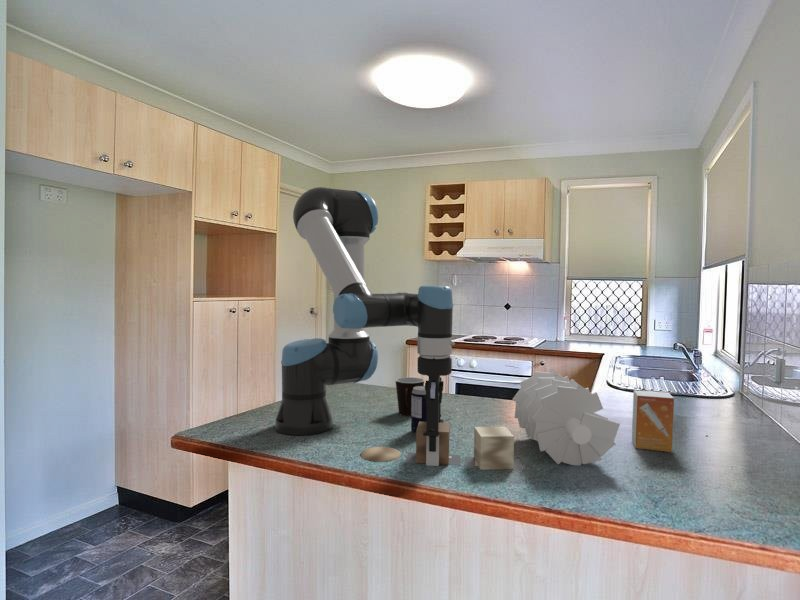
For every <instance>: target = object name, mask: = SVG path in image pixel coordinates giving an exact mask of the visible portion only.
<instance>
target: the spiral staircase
mask: <svg viewBox="0 0 800 600" xmlns="http://www.w3.org/2000/svg"><path fill="white" fill-rule="evenodd" d="M519 385H520V388H519V389H518V391H517V392H516V394H515V395H514V396H513V397H512V401H514V402H515V410H514V416H513V417H514V419H517V421H518V427H519V428H521V429H524V431H525V433H526V437H527V438H528V439H529V438H530V439H531V440H534V441H536V442H537V443H538V448H539V451H540V452H544V451H545V453H546V454H547V455H549V457H550V458H552V460H553V461H554V462H555V463H556V464H557V465H559V464H561V463H564V464H567V465H569V466H570V465H571V466H582V465H587V464H591V463H595V462H599V461H602V457H603V456H604V455H606V453H607V452H608V451H610V450H611V449H612V448H613V447H615V445H616V442H615V438H616V436H617V434H618V431H619V427H620V424H621V423H619V422H616V421H613V420H611V419H609V418H608V417H606V416H605V415H602V414H598V413H597V412H599V411H602V410H603V409H604V407H603V405H602V402H601V400H600V397H599V395H598V392H590V388H589V387H584V386H582V385H580V384H579V383H578V382H576V380H575V379H574V378H571V379H570V378H569V376H568V375H566V376H562V375H561V374H559V373H558V372H556V371H555V370H553V369H550V371H549V372H548V371H546V372H545V371H544V372H543V371H533V375H532V376H530V377H528V378H526V379H523V380H521V381H519Z"/></svg>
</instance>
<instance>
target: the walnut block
mask: <svg viewBox="0 0 800 600" xmlns="http://www.w3.org/2000/svg"><path fill="white" fill-rule="evenodd" d="M426 424H427V422H419V423H418V427H417V430H416V434H415V435H416V436H415V453H416V463H415V464H422V463H426V436H423V433H426ZM450 425H451V423H450V422H443V423H439V431H438V432H439V465H441V464H447V465H446V466H448V464H449V454H450V441H451V440H450V432H451V431H450V430H451V426H450Z"/></svg>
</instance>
